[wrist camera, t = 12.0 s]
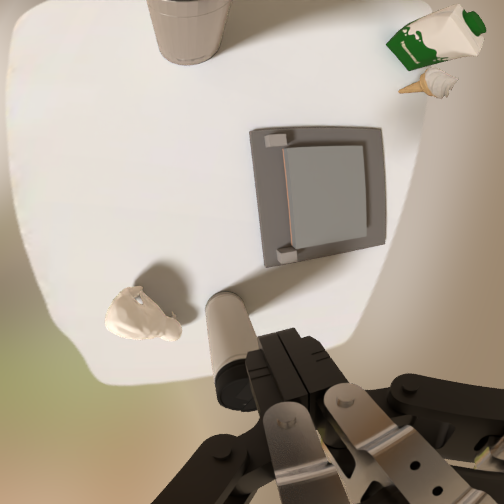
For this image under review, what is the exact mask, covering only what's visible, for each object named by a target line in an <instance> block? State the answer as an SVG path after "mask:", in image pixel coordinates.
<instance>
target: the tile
mask: <svg viewBox="0 0 504 504" xmlns="http://www.w3.org/2000/svg"><path fill="white" fill-rule="evenodd" d="M282 150H283V159H284V168H285V177H286V187H287V198H288V209H289V220H290V232H291V245H292V246H293V247H294V248H295V249H300V248H305V247H311V246H316V245H322V244H327V243H333V242H338V241H344V240H349V239H355V238H360V237H366V236H367V221H366V188H365V171H364V157H363V146H316V147H296V148H285V149H282Z"/></svg>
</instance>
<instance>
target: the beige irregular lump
mask: <svg viewBox="0 0 504 504" xmlns="http://www.w3.org/2000/svg"><path fill="white" fill-rule="evenodd" d="M142 290H143V287H142V286H134V287H127V288H125V289H123V290H122V291H121V292H119V294H118V295H117V296H116V297H115V298H114V299H113V301H112V304H111V305H110V307H109V308H108V310H107V314H106V317H105V325H106V328H107V329H108V330H109V331H111V332H112V333H114V334H116V335H119V336H120V337H122V338H129V339H135V340H144V339H146V338H148V339H153V338H155V337H160V338H162V339H163V340H166V341H176V340H178V339H179V338H180V336H181V334H182V327H181V324H180V323H179V322H178V321H177V320H176V315H174V314H173V313H172V315H173V317H172V318H171V317H168V316H166V315H165V314H164V313H163V311H162V310H161V309H160V308H159V306H158V305H157V304H156V303H155V302H154V301H152V300H151V299H150V298H149V297H148V296H147V295H146V294H145V293H144V292H143V291H142ZM139 295H140V297H141V299H142V302H143V304H139V303H138V301H137V300H135V299H134V297H137V296H139Z"/></svg>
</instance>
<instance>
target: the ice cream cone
mask: <svg viewBox="0 0 504 504" xmlns="http://www.w3.org/2000/svg"><path fill="white" fill-rule="evenodd" d="M457 81H458V78H456V77H453V76H451V75H449V74H447V73H446V72H444V71H442V70H440V69H438V68H436V67H430V68H428V69H427V70H426V71H425V73H423V74H422V75H421V76H420V81H418V82H416V83H413V84H411V85H409V86H407V87H405V88H403V89H400V90H399V91H398V92H399V93H412V92H423V91H424V92H425V93H426V94H427V95H429V96H434V97H436V98H440V99H442V98H443V97H444V96H446V97H448V95H449V90H452V88H453V86H454V84H455V83H456V82H457Z"/></svg>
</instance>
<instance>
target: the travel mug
mask: <svg viewBox="0 0 504 504" xmlns="http://www.w3.org/2000/svg"><path fill="white" fill-rule="evenodd" d="M205 312H206V322H207V331H208V339H209V347H210V355H211V363H212V370H213V377H214V384H215V387H216V394H217V400H218V402H219V404H220V405H222V406H223V407H225V408H229V409H232V410H237V411H239V410H241V412H251V411H255V410H257V407H256V403H255V400H254V397H253V394H252V390H251V387H250V383H249V378H248V373H247V369H246V364H245V360H246V356H247V353H248V352H249V351H254V350H258V349H259V347H258V340H257V336H256V334H255V331H254V329H253V326H252V324H251V321H250V318H249V316H248V313H247V311H246V308H245V305H244V303H243V301H242V299H241V298H240V297H239V296H238V295H236V294H235V293H232V292H220V293H217V294H215V295H213V296H212V297H211V298H210V299H209V300H208V302H207V304H206V308H205Z"/></svg>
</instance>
